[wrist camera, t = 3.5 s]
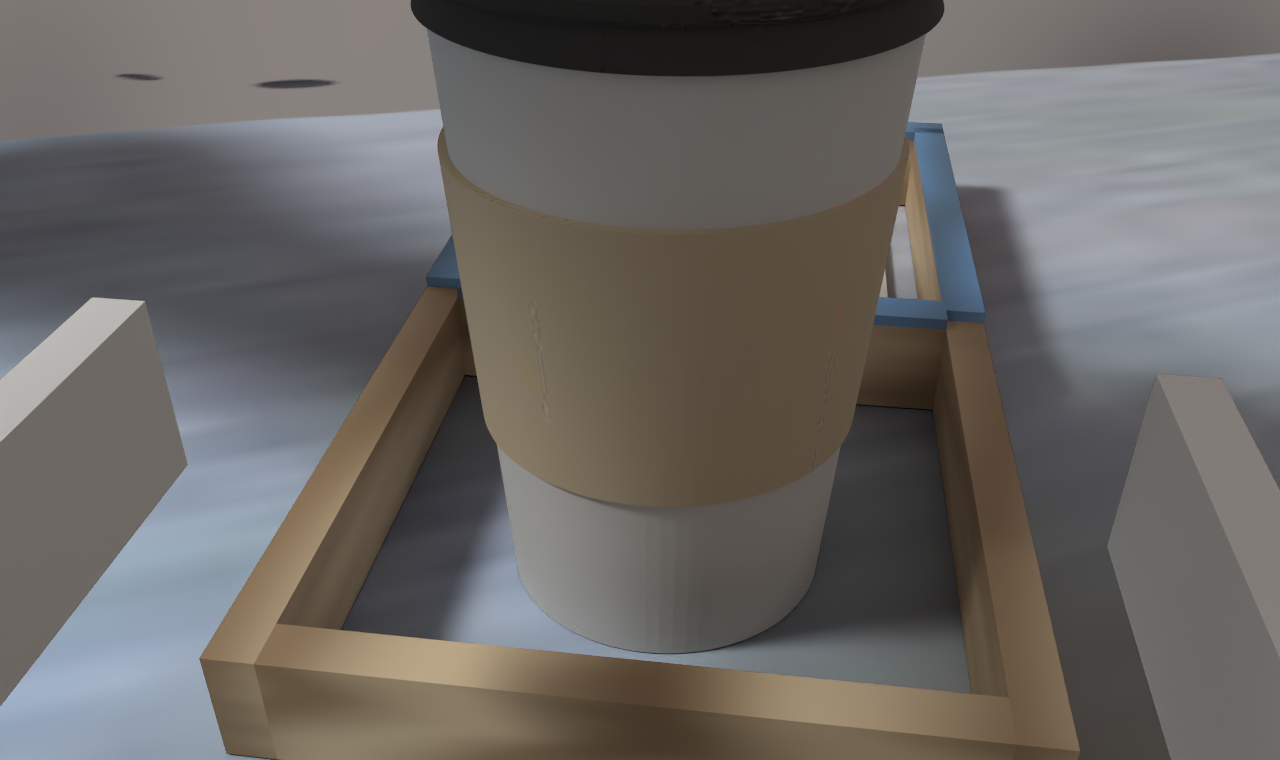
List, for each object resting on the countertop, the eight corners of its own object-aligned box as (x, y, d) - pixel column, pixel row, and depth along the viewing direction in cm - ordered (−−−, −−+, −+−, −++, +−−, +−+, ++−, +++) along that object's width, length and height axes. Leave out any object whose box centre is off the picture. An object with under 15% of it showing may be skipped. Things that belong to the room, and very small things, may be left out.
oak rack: (226, 753, 22) (195, 646, 20) (536, 174, 45) (533, 104, 44) (1050, 848, 20) (1084, 739, 19) (930, 195, 44) (941, 123, 42)
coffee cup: (462, 449, 30) (397, -197, 22) (802, 418, 31) (859, -205, 23) (477, 722, 23) (387, -107, 14) (925, 667, 24) (1073, -126, 16)
